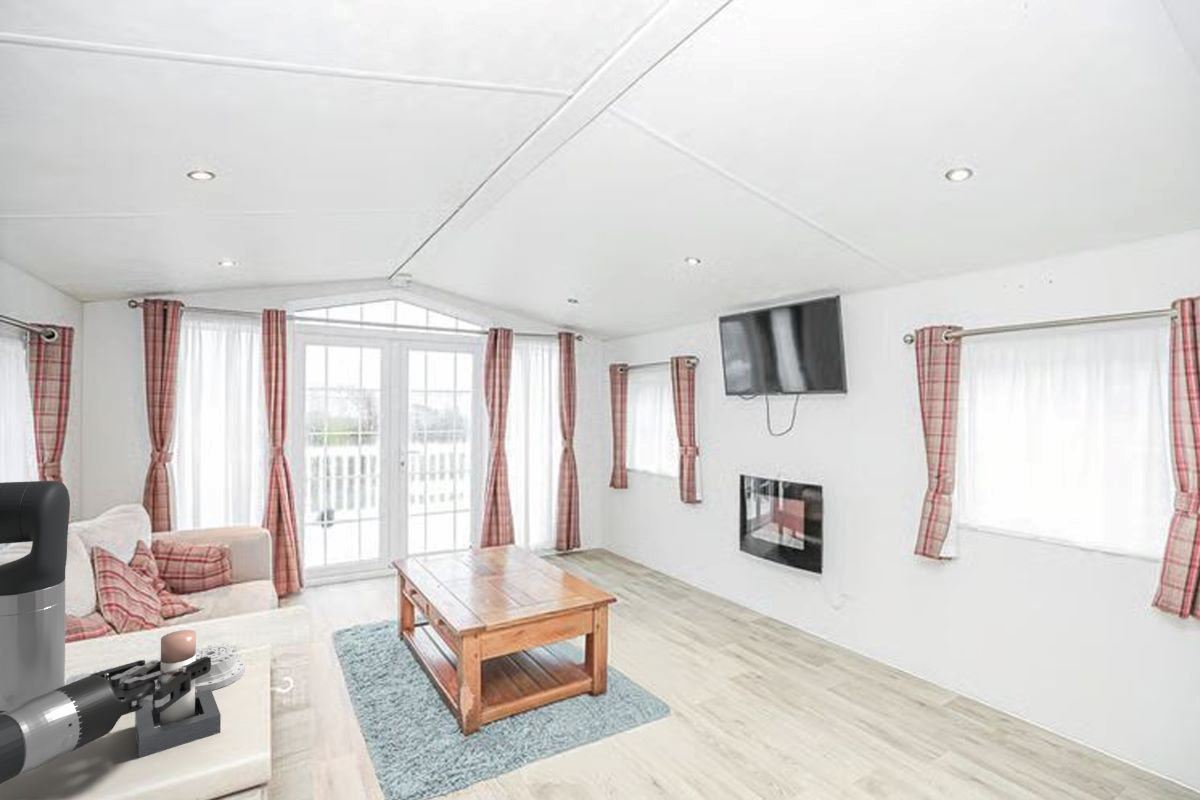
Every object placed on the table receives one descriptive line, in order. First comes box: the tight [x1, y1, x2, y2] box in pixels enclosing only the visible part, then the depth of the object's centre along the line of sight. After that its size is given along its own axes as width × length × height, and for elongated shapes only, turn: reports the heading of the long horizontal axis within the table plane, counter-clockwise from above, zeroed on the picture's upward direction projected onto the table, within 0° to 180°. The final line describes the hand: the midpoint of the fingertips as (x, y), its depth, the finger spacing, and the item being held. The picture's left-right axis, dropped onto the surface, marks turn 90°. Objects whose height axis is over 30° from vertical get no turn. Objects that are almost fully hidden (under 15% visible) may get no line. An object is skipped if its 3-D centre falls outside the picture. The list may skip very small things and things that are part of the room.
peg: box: [159, 629, 197, 727], centre depth 82 cm, size 4×4×12 cm
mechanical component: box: [195, 644, 246, 691], centre depth 97 cm, size 10×4×10 cm
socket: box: [134, 689, 222, 759], centre depth 82 cm, size 9×9×2 cm
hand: (197, 660), depth 85 cm, fingers closed on peg, 4 cm apart
